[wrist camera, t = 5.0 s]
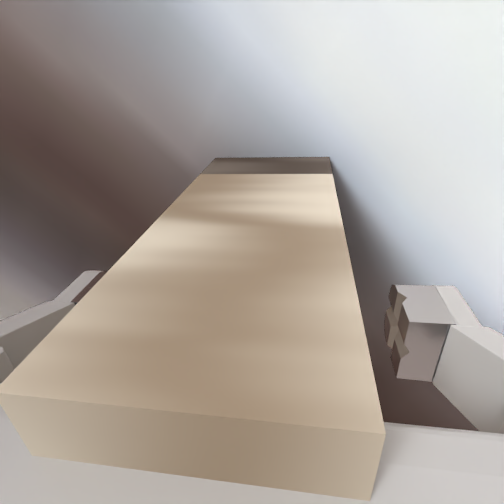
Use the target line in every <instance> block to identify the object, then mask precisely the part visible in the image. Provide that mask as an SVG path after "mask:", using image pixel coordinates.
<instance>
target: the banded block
mask: <svg viewBox="0 0 504 504" xmlns="http://www.w3.org/2000/svg"><path fill="white" fill-rule="evenodd" d="M0 405H1V406H2V408H3V410H4V411H5V413H6V414H7V416H8V418H9V419H10V421H11V422H12V424H13V426H14V427H15V429H16V431H17V432H18V434H19V435H20V437H21V439H22V440H23V442H24V443H25V445H26V447H27V448H28V450H29V452H30V453H31V455H32V456H39V457H47V458H54V459H62V460H69V461H76V462H84V463H91V464H99V465H106V466H113V467H121V468H128V469H136V470H143V471H150V472H158V473H165V474H173V475H180V476H187V477H195V478H202V479H210V480H217V481H224V482H232V483H239V484H247V485H254V486H261V487H269V488H276V489H284V490H291V491H298V492H306V493H313V494H321V495H328V496H335V497H343V498H350V499H358V500H365V501H370V499H371V494H372V490H373V486H374V482H375V478H376V474H377V470H378V465H379V461H380V457H381V453H382V449H383V445H384V441H385V436H386V431H385V427H384V422H383V417H382V412H381V407H380V402H379V397H378V393H377V388H376V383H375V378H374V373H373V368H372V363H371V359H370V354H369V349H368V344H367V339H366V334H365V329H364V324H363V320H362V315H361V310H360V305H359V300H358V295H357V290H356V286H355V281H354V276H353V271H352V266H351V261H350V256H349V251H348V247H347V242H346V237H345V232H344V227H343V222H342V217H341V213H340V208H339V203H338V198H337V193H336V188H335V183H334V178H333V174H332V169H331V164H330V159H329V157H272V158H215V159H214V160H213V161H212V162H211V163H210V164H209V165H208V166H207V167H206V169H205V170H204V171H203V172H202V173H201V174H200V175H199V176H198V177H197V178H196V179H195V180H194V181H193V182H192V183H191V184H190V185H189V186H188V187H187V189H186V190H185V191H184V192H183V193H182V194H181V195H180V196H179V197H178V198H177V199H176V200H175V201H174V202H173V203H172V204H171V205H170V206H169V207H168V209H167V210H166V211H165V212H164V213H163V214H162V215H161V216H160V217H159V218H158V219H157V220H156V221H155V222H154V223H153V224H152V225H151V226H150V227H149V229H148V230H147V231H146V232H145V233H144V234H143V235H142V236H141V237H140V238H139V239H138V240H137V241H136V242H135V243H134V244H133V245H132V246H131V247H130V249H129V250H128V251H127V252H126V253H125V254H124V255H123V256H122V257H121V258H120V259H119V260H118V261H117V262H116V263H115V264H114V265H113V266H112V267H111V269H110V270H109V271H108V272H107V273H106V274H105V275H104V276H103V277H102V278H101V279H100V280H99V281H98V282H97V283H96V284H95V285H94V286H93V287H92V289H91V290H90V291H89V292H88V293H87V294H86V295H85V296H84V297H83V298H82V299H81V300H80V301H79V302H78V303H77V304H76V305H75V306H74V307H73V309H72V310H71V311H70V312H69V313H68V314H67V315H66V316H65V317H64V318H63V319H62V320H61V321H60V322H59V323H58V324H57V325H56V326H55V327H54V328H53V330H52V331H51V332H50V333H49V334H48V335H47V336H46V337H45V338H44V339H43V340H42V341H41V342H40V343H39V344H38V345H37V346H36V347H35V348H34V350H33V351H32V352H31V353H30V354H29V355H28V356H27V357H26V358H25V359H24V360H23V361H22V362H21V363H20V364H19V365H18V366H17V367H16V368H15V370H14V371H13V372H12V373H11V374H10V375H9V376H8V377H7V378H6V379H5V380H4V381H3V382H2V383H1V384H0Z"/></svg>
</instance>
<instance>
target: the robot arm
mask: <svg viewBox="0 0 504 504" xmlns="http://www.w3.org/2000/svg"><path fill="white" fill-rule="evenodd" d="M107 272H108V271H96V270H88V271H84V272H83V273H82V274H81V275H80V276H79V277H78V278H77V279H76V280H75V281H73V282H72V283H71V284H70V285H69V286H68V287H67V288H66V289H65V290H64V291H63V292H62V293H61V294H59V295H58V296H57V297H56V298H55V299H54V300H53V301H46V302H44V303H42V304H39V305H37V306H34V307H32V308H30V309H27V310H25V311H23V312H20V313H18V314H16V315H13V316H11V317H8V318H6V319H4V320H1V321H0V384H1V383H2V382H3V381H4V380H5V379H6V378H7V377H8V376H9V375H10V374H11V373H12V372H13V371H14V370H15V368H16V367H17V366H18V365H19V364H20V363H21V362H22V361H23V360H24V359H25V358H26V357H27V356H28V355H29V354H30V353H31V352H32V351H33V350H34V348H35V347H36V346H37V345H38V344H39V343H40V342H41V341H42V340H43V339H44V338H45V337H46V336H47V335H48V334H49V333H50V332H51V331H52V330H53V328H54V327H55V326H56V325H57V324H58V323H59V322H60V321H61V320H62V319H63V318H64V317H65V316H66V315H67V314H68V313H69V312H70V311H71V310H72V309H73V307H74V306H75V305H76V304H77V303H78V302H79V301H80V300H81V299H82V298H83V297H84V296H85V295H86V294H87V293H88V292H89V291H90V290H91V289H92V287H93V286H94V285H95V284H96V283H97V282H98V281H99V280H100V279H101V278H102V277H103V276H104V275H105V274H106V273H107ZM389 301H390V304H391V307H389V308H388V309H387V310H386V314H385V320H384V332H385V338H386V342H387V345H388V346H389V347H390V348H391V349H392V353H391V361H392V364H393V368H394V371H395V375H396V378H401V379H411V380H420V381H429V382H433V383H432V384H433V385H434V386H435V387H436V388H437V389H438V390H439V391H440V392H441V393H442V394H443V395H444V396H445V397H446V398H447V399H448V400H449V401H450V402H451V403H452V404H453V405H454V406H455V407H456V408H457V409H458V410H459V411H460V412H461V413H462V414H463V415H464V416H465V417H466V418H467V419H468V420H469V421H470V422H471V423H472V424H473V425H474V426H475V427H476V428H477V429H478V430H479V431H471V430H461V429H451V428H440V427H430V426H420V425H410V424H399V423H389V422H384V427H385V431H386V436H385V441H384V445H383V449H382V453H381V457H380V461H379V465H378V470H377V474H376V478H375V482H374V486H373V490H372V494H371V499H370V501H365V500H358V499H350V498H343V497H335V496H328V495H321V494H313V493H306V492H298V491H291V490H284V489H276V488H269V487H261V486H254V485H247V484H239V483H232V482H224V481H217V480H210V479H202V478H195V477H187V476H180V475H173V474H165V473H158V472H150V471H143V470H136V469H128V468H121V467H113V466H106V465H99V464H91V463H84V462H76V461H69V460H62V459H54V458H47V457H39V456H32V455H31V453H30V452H29V450H28V448H27V447H26V445H25V443H24V442H23V440H22V439H21V437H20V435H19V434H18V432H17V431H16V429H15V427H14V426H13V424H12V422H11V421H10V419H9V418H8V416H7V414H6V413H5V411H4V410H3V408H2V406H1V405H0V504H504V335H502V334H500V333H498V332H497V331H495V330H493V329H492V328H490V327H482V325H481V324H480V322H479V321H478V319H477V318H476V316H475V315H474V313H473V312H472V310H471V309H470V307H469V306H468V304H467V303H466V301H465V300H464V298H463V297H462V295H461V294H460V292H459V291H458V289H457V288H456V287H454V286H444V285H432V286H426V285H392V286H391V288H390V292H389Z"/></svg>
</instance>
